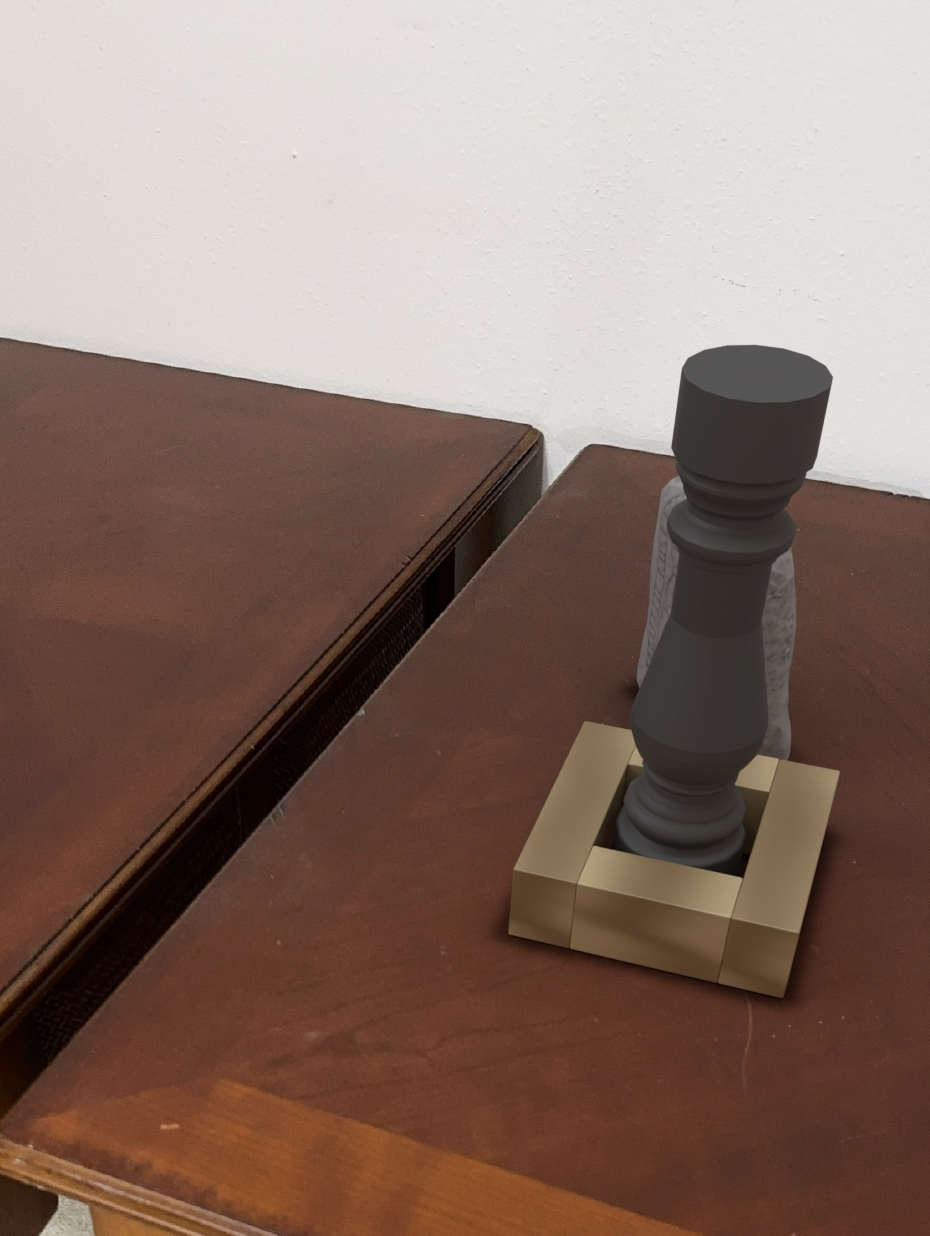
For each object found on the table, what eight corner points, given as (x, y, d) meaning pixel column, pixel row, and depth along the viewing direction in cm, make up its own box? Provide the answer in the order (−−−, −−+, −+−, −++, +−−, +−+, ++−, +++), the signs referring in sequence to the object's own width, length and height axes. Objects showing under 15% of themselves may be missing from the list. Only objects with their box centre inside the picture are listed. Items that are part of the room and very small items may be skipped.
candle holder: (705, 938, 73) (806, 418, 55) (587, 894, 75) (648, 383, 58) (754, 868, 76) (862, 361, 59) (640, 828, 79) (712, 330, 62)
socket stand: (824, 834, 78) (840, 770, 76) (783, 999, 69) (799, 932, 67) (577, 784, 82) (584, 720, 79) (507, 934, 73) (513, 868, 70)
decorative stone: (612, 689, 88) (642, 436, 78) (703, 669, 90) (744, 418, 80) (706, 793, 81) (753, 528, 71) (804, 770, 82) (864, 507, 72)
